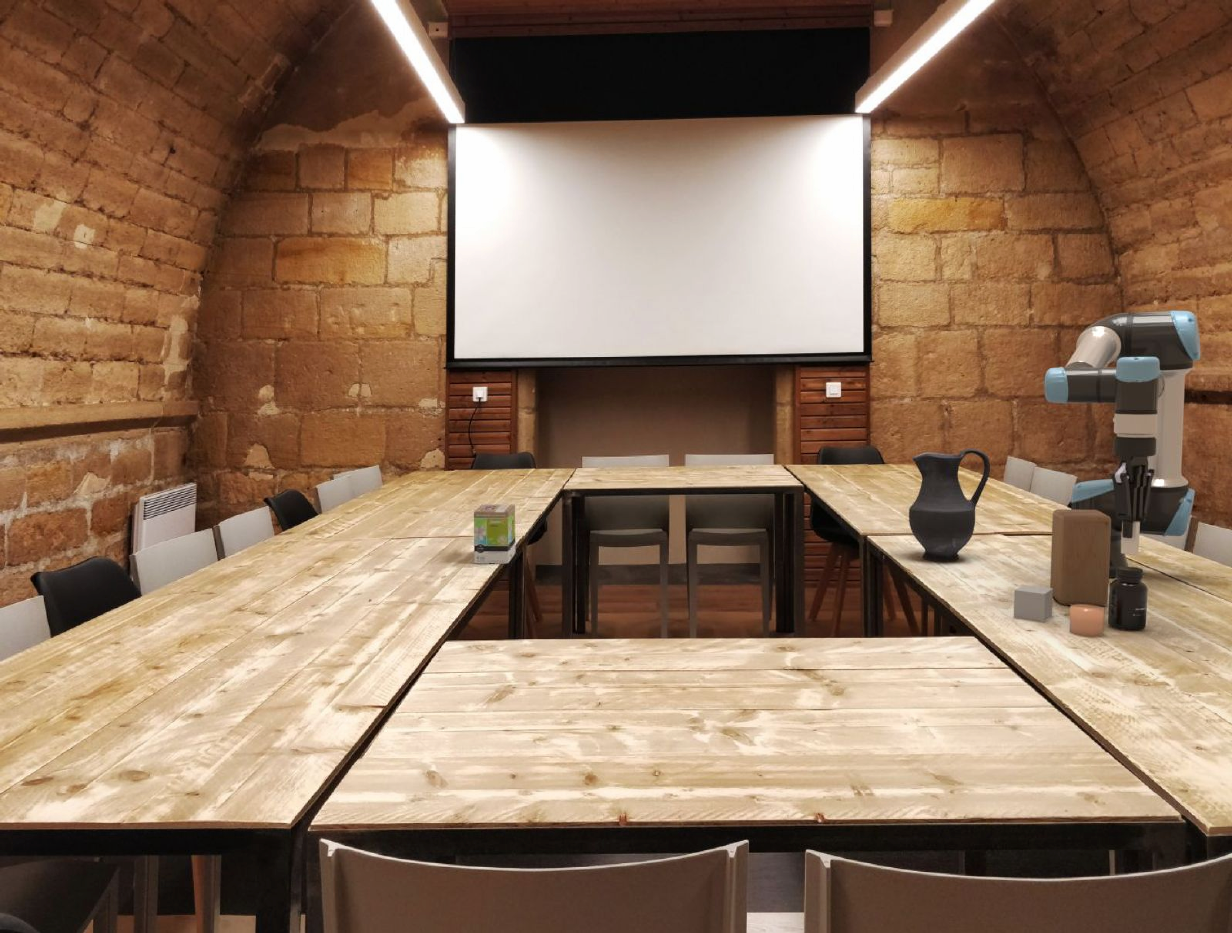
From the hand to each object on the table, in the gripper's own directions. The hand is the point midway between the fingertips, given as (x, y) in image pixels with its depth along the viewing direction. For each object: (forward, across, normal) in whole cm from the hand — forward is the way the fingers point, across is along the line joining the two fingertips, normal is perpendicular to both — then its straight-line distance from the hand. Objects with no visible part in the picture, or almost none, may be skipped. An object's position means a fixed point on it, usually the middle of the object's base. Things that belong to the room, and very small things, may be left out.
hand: (1129, 553), depth 192 cm
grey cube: (+15, +7, -16) cm, 23 cm away
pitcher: (+15, -31, -63) cm, 72 cm away
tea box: (+15, +64, -144) cm, 158 cm away
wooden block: (+15, -13, -17) cm, 26 cm away
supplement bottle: (+15, 0, 0) cm, 15 cm away
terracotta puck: (+15, +10, -3) cm, 18 cm away
